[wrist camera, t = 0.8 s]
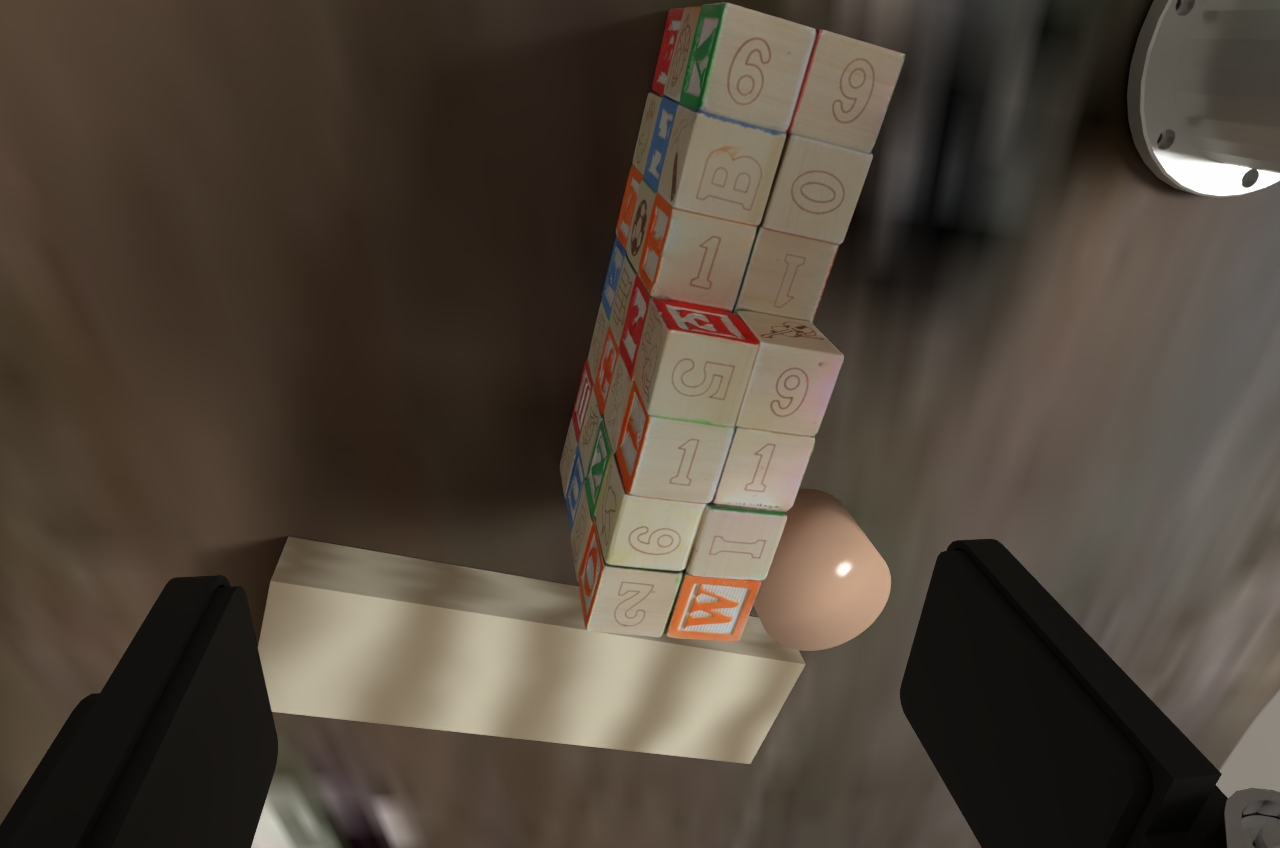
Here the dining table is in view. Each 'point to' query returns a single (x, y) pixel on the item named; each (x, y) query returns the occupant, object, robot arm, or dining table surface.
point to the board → (504, 659)
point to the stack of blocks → (717, 318)
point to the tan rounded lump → (821, 577)
